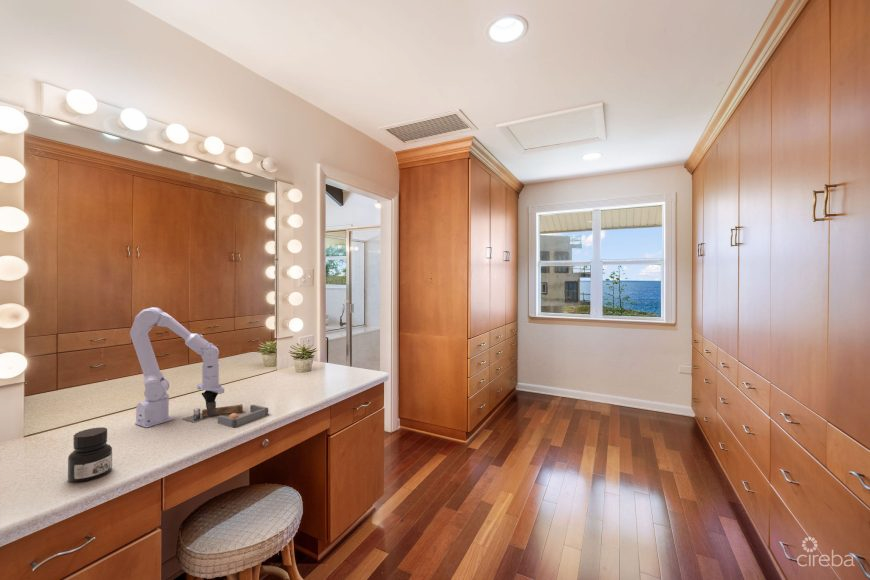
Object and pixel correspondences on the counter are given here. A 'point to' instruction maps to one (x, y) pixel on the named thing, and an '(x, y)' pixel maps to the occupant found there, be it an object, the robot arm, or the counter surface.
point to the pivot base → (196, 416)
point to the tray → (244, 417)
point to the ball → (234, 415)
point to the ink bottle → (89, 455)
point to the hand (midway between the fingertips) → (210, 408)
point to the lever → (220, 409)
